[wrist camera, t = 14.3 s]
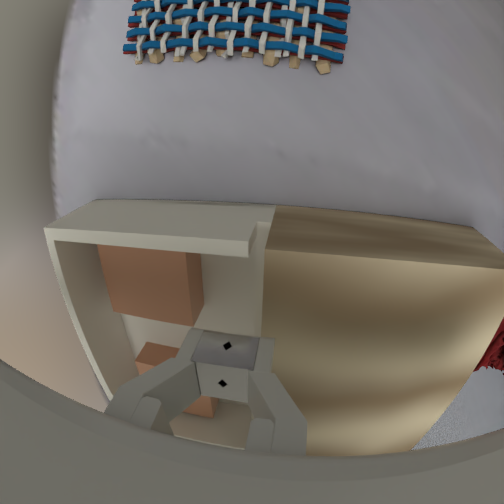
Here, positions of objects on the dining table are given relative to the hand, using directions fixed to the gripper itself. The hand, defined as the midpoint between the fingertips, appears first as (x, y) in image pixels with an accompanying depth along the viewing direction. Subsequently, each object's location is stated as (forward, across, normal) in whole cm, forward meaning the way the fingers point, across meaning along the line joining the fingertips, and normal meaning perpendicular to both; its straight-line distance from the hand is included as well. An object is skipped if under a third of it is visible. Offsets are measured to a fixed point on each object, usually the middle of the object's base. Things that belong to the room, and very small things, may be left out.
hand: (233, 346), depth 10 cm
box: (+6, +4, +5) cm, 9 cm away
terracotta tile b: (+3, +5, 0) cm, 6 cm away
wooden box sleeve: (+6, -6, +5) cm, 10 cm away
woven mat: (+7, +1, -15) cm, 17 cm away
